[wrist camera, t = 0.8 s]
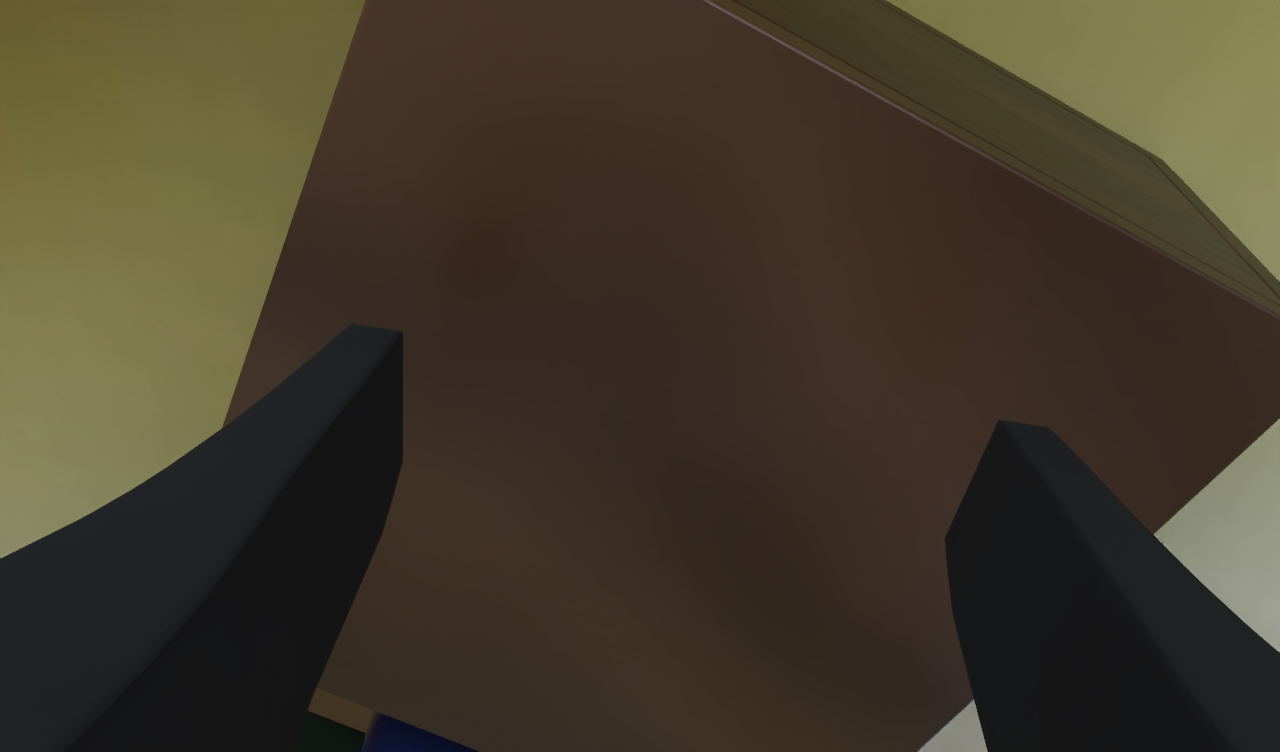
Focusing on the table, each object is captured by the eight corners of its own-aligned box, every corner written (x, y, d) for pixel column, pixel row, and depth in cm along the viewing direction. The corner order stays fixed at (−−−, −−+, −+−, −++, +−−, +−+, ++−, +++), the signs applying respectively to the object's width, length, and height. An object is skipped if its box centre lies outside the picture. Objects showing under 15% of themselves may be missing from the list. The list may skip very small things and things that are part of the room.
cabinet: (778, 614, 27) (786, 873, 21) (302, 403, 24) (154, 626, 18) (1164, 160, 19) (1351, 356, 13) (536, -201, 17) (419, -164, 11)
